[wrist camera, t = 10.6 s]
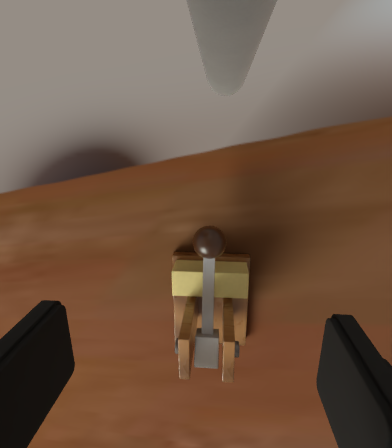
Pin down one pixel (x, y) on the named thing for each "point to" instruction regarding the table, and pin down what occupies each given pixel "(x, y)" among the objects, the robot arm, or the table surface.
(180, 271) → the butter
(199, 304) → the wooden toy catapult
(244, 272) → the butter
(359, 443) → the robot arm
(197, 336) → the ball knob on post
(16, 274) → the table surface
